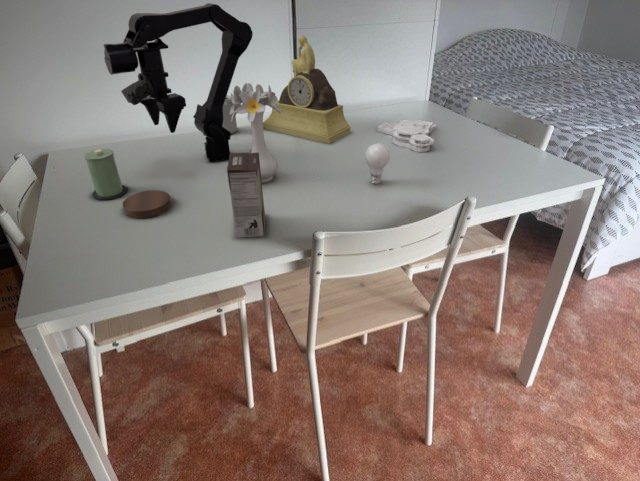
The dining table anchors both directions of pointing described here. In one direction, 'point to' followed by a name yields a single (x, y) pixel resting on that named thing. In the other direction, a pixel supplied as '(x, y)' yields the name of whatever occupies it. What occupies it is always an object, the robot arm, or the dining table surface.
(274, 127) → the decorative clock
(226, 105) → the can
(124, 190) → the coaster
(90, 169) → the canister
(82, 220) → the dining table surface
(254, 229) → the coffee box
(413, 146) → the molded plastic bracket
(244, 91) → the flower vase
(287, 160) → the dining table surface
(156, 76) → the robot arm
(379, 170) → the lightbulb
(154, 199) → the platform
